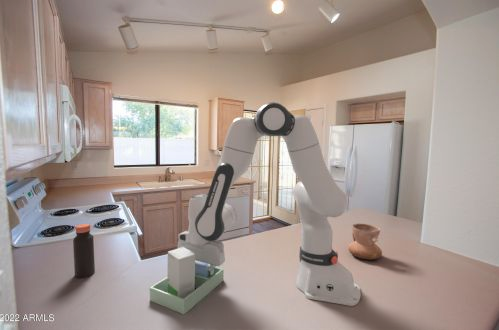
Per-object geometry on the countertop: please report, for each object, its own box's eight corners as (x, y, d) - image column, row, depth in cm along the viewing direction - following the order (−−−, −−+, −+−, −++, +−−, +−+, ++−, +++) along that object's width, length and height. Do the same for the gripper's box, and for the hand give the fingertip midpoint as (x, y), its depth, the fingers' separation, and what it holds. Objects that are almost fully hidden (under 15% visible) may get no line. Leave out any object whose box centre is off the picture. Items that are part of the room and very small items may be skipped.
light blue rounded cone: (202, 284, 91) (202, 269, 91) (191, 281, 93) (191, 266, 93) (210, 278, 96) (210, 263, 95) (199, 275, 98) (199, 260, 98)
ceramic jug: (390, 263, 109) (391, 232, 108) (359, 264, 108) (360, 232, 107) (367, 248, 127) (368, 221, 126) (340, 248, 126) (341, 221, 125)
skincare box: (167, 294, 86) (166, 251, 85) (184, 287, 90) (183, 245, 89) (178, 305, 80) (178, 259, 79) (196, 296, 84) (195, 253, 83)
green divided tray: (223, 280, 95) (223, 269, 95) (184, 314, 75) (183, 300, 75) (193, 271, 102) (193, 260, 101) (149, 300, 82) (149, 287, 82)
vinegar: (98, 272, 101) (96, 224, 99) (80, 280, 95) (77, 229, 93) (89, 268, 104) (87, 222, 103) (71, 275, 98) (69, 226, 97)
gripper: (228, 238, 91) (228, 273, 92) (185, 229, 101) (186, 262, 102) (218, 243, 86) (218, 282, 87) (174, 234, 95) (175, 268, 96)
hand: (200, 271), depth 94 cm, fingers open, 8 cm apart
